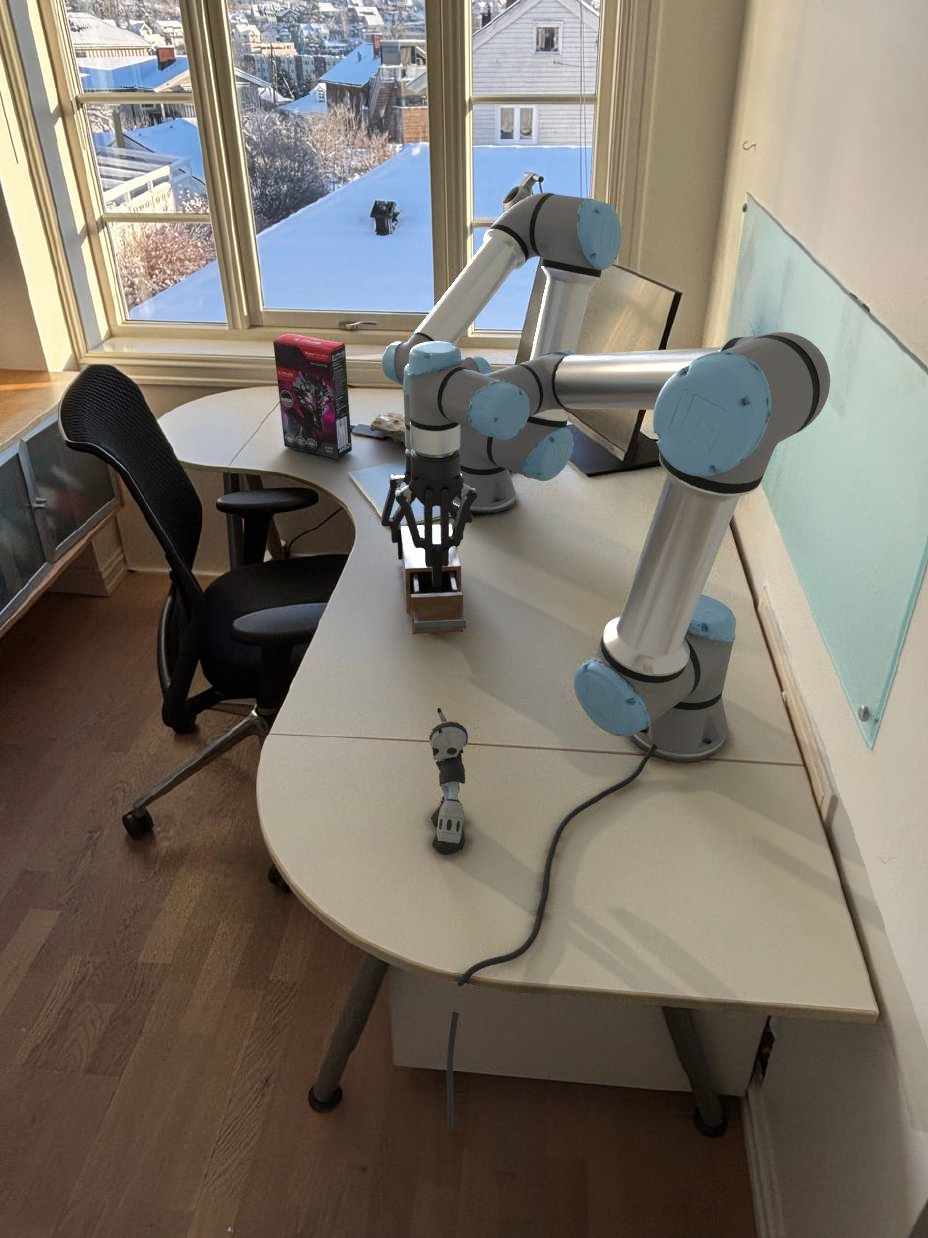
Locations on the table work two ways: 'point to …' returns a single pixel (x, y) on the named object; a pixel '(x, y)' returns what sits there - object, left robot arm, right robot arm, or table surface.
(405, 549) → the wooden drawer box
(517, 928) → the table surface
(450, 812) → the robot
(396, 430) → the stone
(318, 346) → the graphics card box
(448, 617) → the wooden drawer
